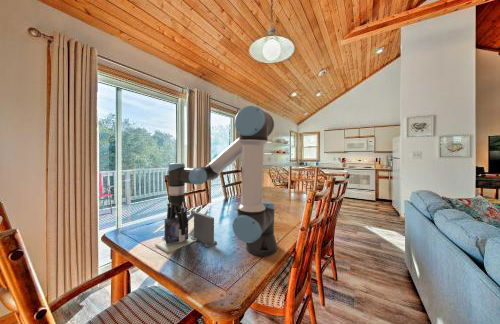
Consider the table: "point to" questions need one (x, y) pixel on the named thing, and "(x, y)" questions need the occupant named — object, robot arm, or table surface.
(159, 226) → the table surface
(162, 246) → the pad
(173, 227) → the small box
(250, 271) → the table surface
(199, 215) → the screen
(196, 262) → the table surface
